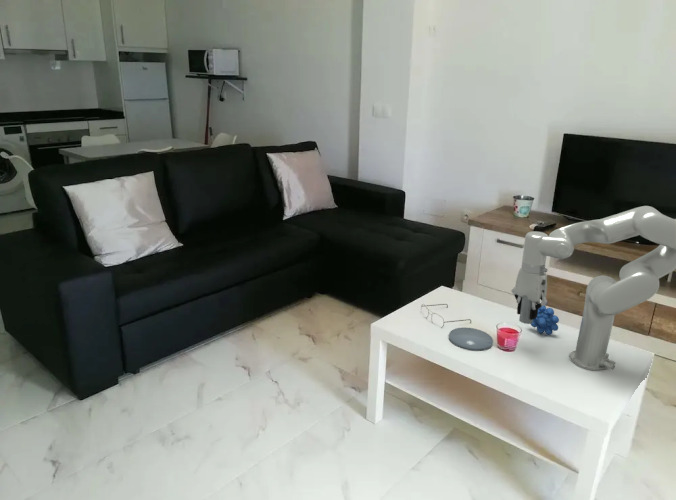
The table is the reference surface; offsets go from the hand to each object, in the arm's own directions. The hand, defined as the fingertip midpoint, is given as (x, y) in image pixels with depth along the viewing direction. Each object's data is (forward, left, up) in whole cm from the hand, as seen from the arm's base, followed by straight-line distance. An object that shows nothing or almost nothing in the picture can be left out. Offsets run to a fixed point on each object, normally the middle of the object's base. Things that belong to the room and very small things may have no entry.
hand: (526, 315), depth 185 cm
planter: (0, 0, -2) cm, 2 cm away
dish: (+15, +10, -14) cm, 23 cm away
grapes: (+5, -18, -14) cm, 23 cm away
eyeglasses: (+34, +5, -15) cm, 37 cm away
